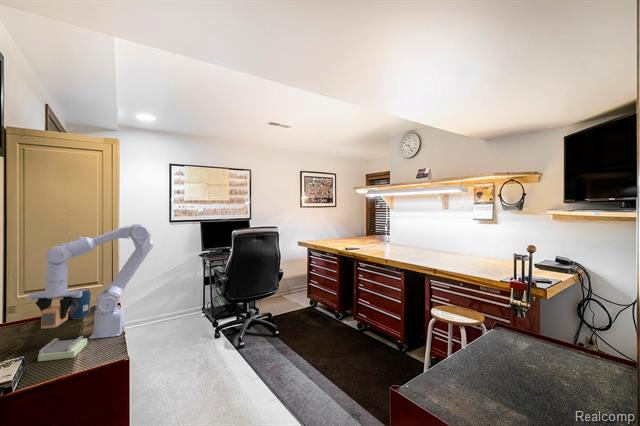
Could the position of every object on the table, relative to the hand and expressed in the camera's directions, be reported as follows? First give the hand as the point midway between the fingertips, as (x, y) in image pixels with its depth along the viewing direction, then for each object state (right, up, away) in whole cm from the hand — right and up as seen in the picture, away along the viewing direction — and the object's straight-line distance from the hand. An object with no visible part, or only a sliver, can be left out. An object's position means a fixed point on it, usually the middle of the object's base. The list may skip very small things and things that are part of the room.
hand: (55, 318), depth 99 cm
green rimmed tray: (+8, -9, -6) cm, 14 cm away
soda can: (-13, -9, +26) cm, 30 cm away
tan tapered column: (0, -2, 0) cm, 2 cm away
